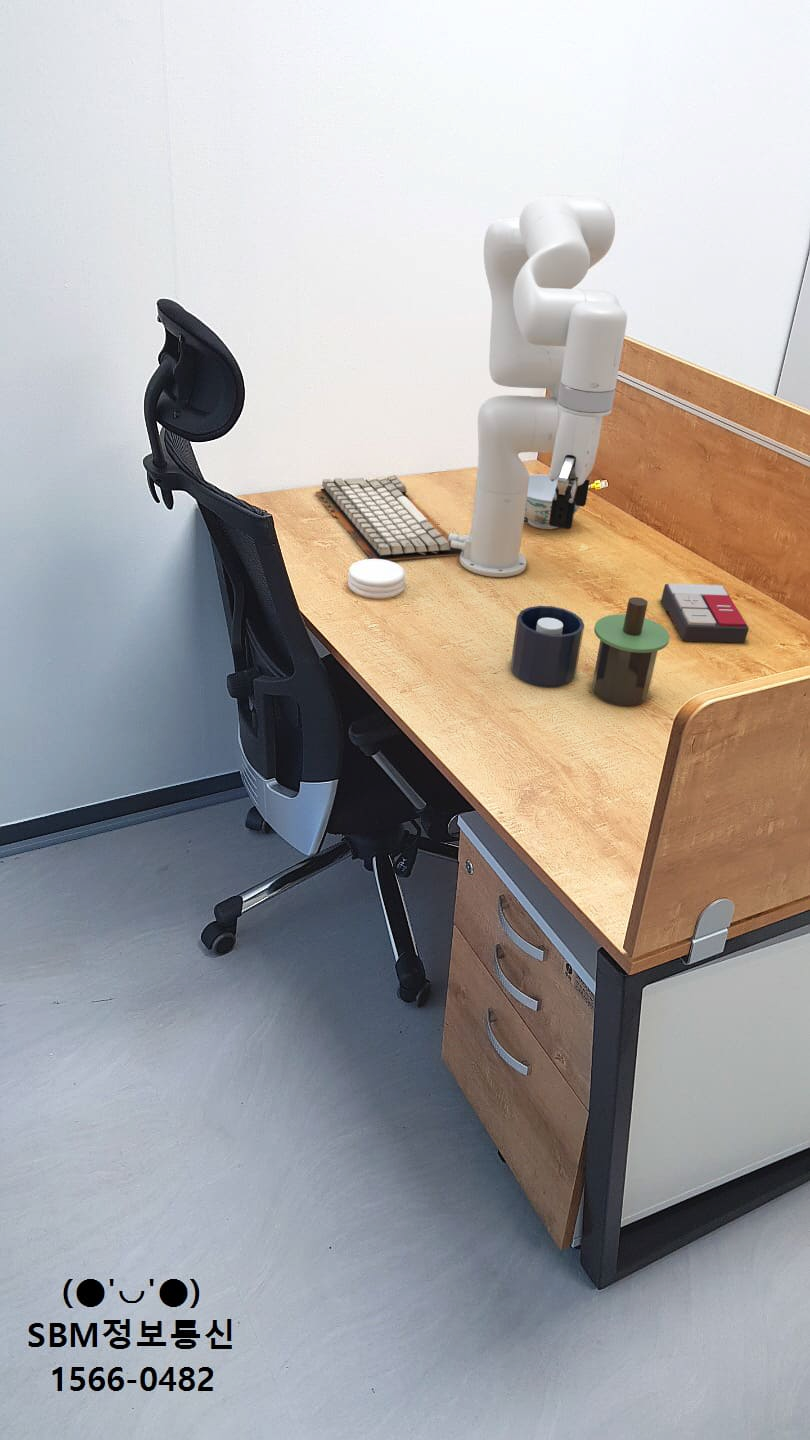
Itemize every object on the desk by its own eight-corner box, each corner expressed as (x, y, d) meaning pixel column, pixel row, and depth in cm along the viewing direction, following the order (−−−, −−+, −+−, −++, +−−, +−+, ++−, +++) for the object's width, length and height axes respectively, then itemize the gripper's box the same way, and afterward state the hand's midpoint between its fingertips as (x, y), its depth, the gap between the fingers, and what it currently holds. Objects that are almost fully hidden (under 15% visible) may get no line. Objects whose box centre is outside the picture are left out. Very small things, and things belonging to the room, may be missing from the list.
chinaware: (498, 527, 224) (502, 491, 219) (520, 504, 235) (525, 469, 231) (569, 543, 219) (575, 506, 215) (588, 518, 231) (594, 483, 227)
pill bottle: (559, 679, 172) (567, 631, 167) (529, 676, 172) (536, 629, 167) (556, 664, 176) (564, 617, 171) (526, 661, 176) (533, 615, 171)
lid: (586, 646, 162) (593, 608, 159) (601, 615, 171) (607, 579, 168) (662, 663, 160) (670, 625, 156) (673, 630, 169) (681, 594, 165)
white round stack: (383, 571, 202) (384, 553, 200) (415, 592, 195) (416, 574, 193) (337, 582, 197) (337, 564, 195) (368, 604, 190) (369, 586, 188)
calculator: (687, 622, 184) (665, 579, 197) (682, 644, 187) (660, 600, 199) (751, 624, 185) (724, 581, 198) (744, 646, 188) (718, 602, 200)
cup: (586, 698, 168) (596, 644, 163) (597, 673, 175) (607, 620, 170) (642, 712, 166) (654, 657, 161) (651, 685, 173) (663, 632, 168)
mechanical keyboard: (466, 555, 211) (467, 538, 209) (373, 565, 204) (374, 548, 203) (394, 486, 240) (395, 471, 238) (310, 493, 233) (311, 477, 232)
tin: (503, 678, 172) (510, 627, 167) (519, 650, 180) (526, 600, 175) (567, 693, 169) (576, 642, 164) (580, 664, 177) (589, 614, 172)
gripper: (572, 379, 159) (555, 491, 168) (544, 409, 145) (528, 530, 154) (623, 387, 157) (604, 500, 166) (600, 419, 143) (580, 541, 152)
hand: (567, 515), depth 160 cm, fingers open, 9 cm apart
